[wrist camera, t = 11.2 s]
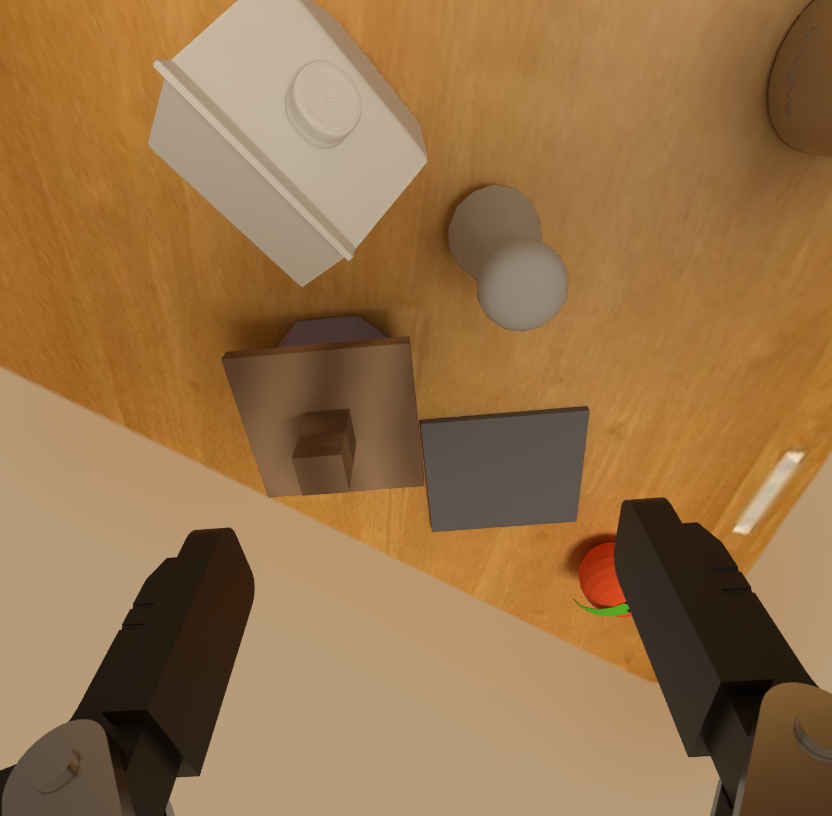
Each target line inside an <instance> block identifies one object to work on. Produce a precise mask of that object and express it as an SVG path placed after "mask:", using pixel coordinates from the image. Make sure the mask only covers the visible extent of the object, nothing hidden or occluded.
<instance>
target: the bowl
mask: <svg viewBox="0 0 832 816" xmlns="http://www.w3.org/2000/svg"><path fill="white" fill-rule="evenodd" d="M384 338H389V337H388V336H387V335H386V334H385V333H383V332H382V331H380V330H379V329H377V328H376V327H374V326H372V325H371V324H369V323H368V322H366V321H365V320H364V319H362V318H361V317H360V316H349V317H326V318H319V319H316V320H306V321H296V322H295V323H294V325H293V326H292V327H291V329H290V330H289V331H288V333H287V334H286V335H285V337H284V338H283V339H282V341H281V342H280V343H279V345H278V346H277V347H276V348H279V347H291V346H302V345H314V344H326V343H337V342H349V341H361V340H372V339H384Z"/></svg>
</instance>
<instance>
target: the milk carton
mask: <svg viewBox="0 0 832 816" xmlns="http://www.w3.org/2000/svg"><path fill="white" fill-rule="evenodd" d="M153 67H154V68H155V69H156V70H157V71H158V72H159V73H160V74H161V75H162V76H163V77H164V78H165V79H164V83H163V86H162V90H161V94H160V98H159V102H158V106H157V110H156V114H155V118H154V121H153V125H152V129H151V133H150V137H149V141H148V146H149V147H150V148H151V149H152V150H153V151H154V152H155V153H156V154H157V155H158V156H159V157H160V158H161V159H163V160H164V161H165V162H166V163H167V164H168V165H169V166H170V167H171V168H172V169H173V170H174V171H175V172H177V173H178V174H179V175H180V176H181V177H182V178H183V179H184V180H185V181H186V182H187V183H189V184H190V185H191V186H192V187H193V188H194V189H195V190H196V191H197V192H198V193H199V194H200V195H202V196H203V197H204V198H205V199H206V200H207V201H208V202H209V203H210V204H211V205H212V206H214V207H215V208H216V209H217V210H218V211H219V212H220V213H221V214H222V215H223V216H224V217H225V218H227V219H228V220H229V221H230V222H231V223H232V224H233V225H234V226H235V227H236V228H237V229H238V230H240V231H241V232H242V233H243V234H244V235H245V236H246V237H247V238H248V239H249V240H250V241H252V242H253V243H254V244H255V245H256V246H257V247H258V248H259V249H260V250H261V251H262V252H263V253H265V254H266V255H267V256H268V257H269V258H270V259H271V260H272V261H273V262H274V263H275V264H277V265H278V266H279V267H280V268H281V269H282V270H283V271H284V272H285V273H286V274H287V275H289V276H290V277H291V278H292V279H293V280H294V281H295V282H296V283H297V284H299V285H300V286H301V287H303V286H305V285H306V284H308V283H309V282H310V281H312V280H313V279H315V278H316V277H317V276H319V275H320V274H322V273H323V272H325V271H326V270H327V269H329V268H330V267H332V266H333V265H335V264H336V263H337V262H339V261H340V260H342V259H343V258H344V257H345V258H346V259H347V260H348V261H350V260H351V259H352V258H353V256H354V253H355V249H356V248H357V247H358V245H359V244H360V243H361V242H362V241H363V239H364V238H365V237H366V236H367V235H368V233H369V232H370V231H371V230H372V228H373V227H374V226H375V225H376V224H377V222H378V221H379V220H380V219H381V218H382V216H383V215H384V214H385V213H386V211H387V210H388V209H389V208H390V207H391V205H392V204H393V203H394V202H395V201H396V199H397V198H398V197H399V196H400V195H401V193H402V192H403V191H404V190H405V188H406V187H407V186H408V185H409V184H410V182H411V181H412V180H413V179H414V178H415V176H416V175H417V174H418V173H419V171H420V170H421V169H422V168H423V167H424V165H425V164H426V163H427V153H426V148H425V144H424V139H423V135H422V130H421V126H420V123H419V122H418V120H417V119H416V118H415V116H414V115H413V114H412V112H411V111H410V110H409V109H408V107H407V106H406V105H405V104H404V102H403V101H402V100H401V99H400V97H399V96H398V95H397V94H396V92H395V91H394V90H393V89H392V87H391V86H390V85H389V84H388V82H387V81H386V80H385V79H384V77H383V76H382V75H381V74H380V72H379V71H378V70H377V69H376V67H375V66H374V65H373V64H372V62H371V61H370V60H369V59H368V57H367V56H366V55H365V54H364V52H363V51H362V50H361V49H360V47H359V46H358V45H357V43H356V42H355V41H354V40H353V38H352V37H351V36H350V35H349V33H348V32H347V31H346V30H345V29H344V27H343V26H342V25H341V24H340V22H339V21H338V20H337V19H336V18H335V17H334V16H332V15H331V14H330V13H328V12H327V11H326V10H324V9H323V8H322V7H321V6H319V5H318V4H317V3H315V2H314V1H313V0H238V1H237V2H235V3H234V4H233V5H232V6H231V7H230V8H229V9H228V10H227V11H225V12H224V13H223V14H222V15H221V16H220V17H219V18H218V19H216V20H215V21H214V22H213V23H212V24H211V25H210V26H209V27H207V28H206V29H205V30H204V31H203V32H202V33H201V34H200V35H198V36H197V37H196V38H195V39H194V40H193V41H192V42H191V43H190V44H188V45H187V46H186V47H185V48H184V49H183V50H182V51H181V52H179V53H178V54H177V55H176V56H175V57H174V58H173V59H172V60H157V59H156V60H155V62H154V63H153Z"/></svg>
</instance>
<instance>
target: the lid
mask: <svg viewBox="0 0 832 816" xmlns="http://www.w3.org/2000/svg"><path fill="white" fill-rule="evenodd" d="M221 360H222V363H223V366H224V369H225V372H226V375H227V377H228V380H229V383H230V386H231V389H232V392H233V395H234V398H235V401H236V404H237V407H238V410H239V413H240V416H241V419H242V422H243V424H244V427H245V430H246V433H247V436H248V439H249V442H250V445H251V448H252V451H253V454H254V457H255V460H256V463H257V466H258V468H259V471H260V474H261V477H262V480H263V483H264V486H265V489H266V492H267V495H268V497H282V496H295V495H302V496H303V495H317V494H330V493H344V492H349V491H363V490H377V489H390V488H404V487H417V486H424V472H423V462H422V453H421V444H420V434H419V425H418V415H417V406H416V396H415V387H414V377H413V368H412V358H411V349H410V339H409V336H407V337H396V338H384V339H372V340H361V341H349V342H337V343H326V344H314V345H302V346H291V347H279V348H267V349H256V350H244V351H232V352H226V353H225V354H224V356H223V357H222V359H221Z"/></svg>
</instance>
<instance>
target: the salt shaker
mask: <svg viewBox="0 0 832 816" xmlns="http://www.w3.org/2000/svg"><path fill="white" fill-rule="evenodd" d="M449 250H450V251H451V253H452V255H453V257H454V258H455V260H456V262H457V264H458V265H459V266H460V267H461V268H462V269H463V270H464V271H466V272H467V273H468V274H469V275H471V276H472V277H473V278H474V279H476V280H477V298H478V301H479V303H480V305H481V306H482V308H483V310H484V312H485V314H486V315H487V317H488V318H489V319H490V320H492V321H493V322H495V323H496V324H498V325H499V326H501V327H502V328H503V329H507V330H515V331H526V330H530V329H534V328H538V327H541V326H543V325H544V324H545V323H547V322H548V321H549V320H550V319H552V318H553V317H554V316H555V315H557V313H558V312H559V310H560V308H561V307H562V305H563V303H564V302H565V300H566V298H567V292H568V279H569V278H568V274H567V271H566V268H565V266H564V264H563V261H562V259H561V256H560V255H559V254H558V253H557V252H556V251H555V250H553V249H552V248H551V247H549V246H548V245H546V244H545V243H544V242H542V235H541V226H540V219H539V217H538V215H537V212H536V210H535V208H534V205H533V203H532V201H531V200H530V199H529V198H527V197H526V196H525V195H523V194H522V193H521V192H519V191H518V190H517V189H516V188H510V187H504V186H499V185H490V186H488V187H485V188H482V189H479V190H476V191H473V192H472V193H471V194H470V195H469V196H468V197H467V198H466V199H464V200H463V201H462V202H461V203H460V204H459V205H458V206H457V207H456V210H455V213H454V215H453V218H452V220H451V223H450V226H449Z"/></svg>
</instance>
